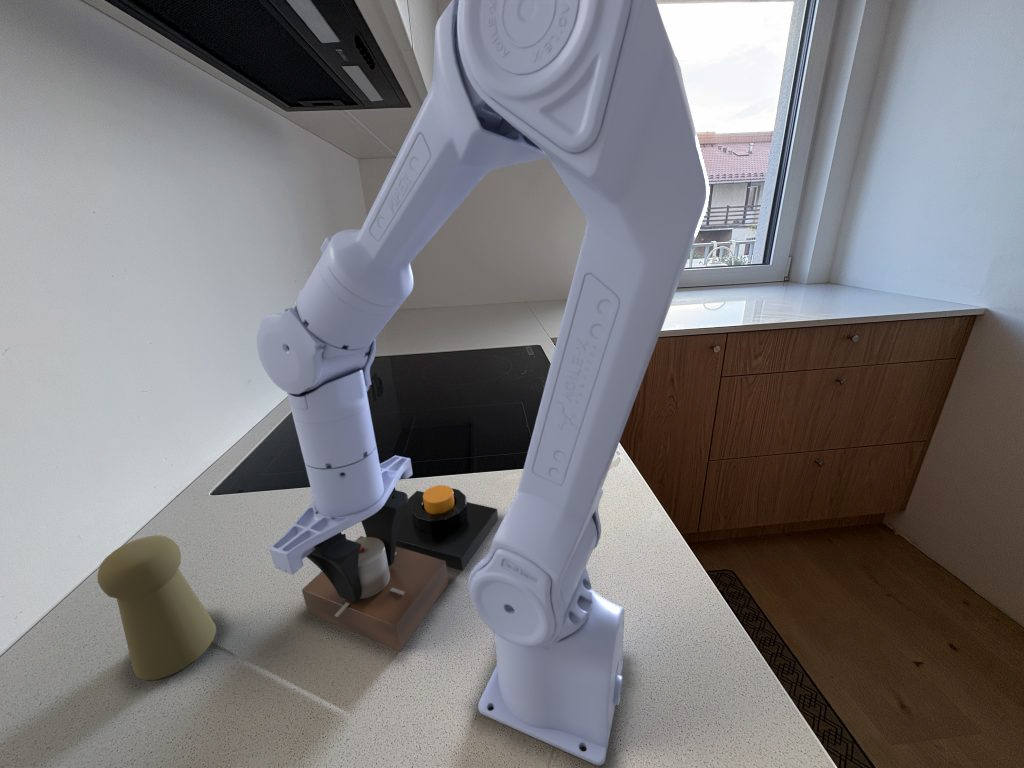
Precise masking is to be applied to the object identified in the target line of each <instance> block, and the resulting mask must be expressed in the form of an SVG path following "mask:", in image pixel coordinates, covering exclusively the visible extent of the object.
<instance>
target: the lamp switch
mask: <svg viewBox="0 0 1024 768" xmlns="http://www.w3.org/2000/svg"><path fill="white" fill-rule="evenodd" d="M451 488H452V490H453V494H454V503H455V504H454V507H453V508H452V509H451V510H449V511H447V512H445V513H440V514H430V513H427V512H426V511H425V508H424V501H423V494H424V492H425V491H420V490H416V491H415V492H414V493H412V495H411V496H410V497H408V502H409V503H408V505H407V507H406V509H405V511H404V514H403V516H402V519H401V522H400V526H399V530H398V535H397V541H396V546H397V547H400V548H403V549H407V550H410V551H413V552H417V553H420V554H423V555H427V556H430V557H434V558H437V559H440V560H444V561H446V567H448V568H451V569H454V570H458V571H461V572H463V571H464V569H465V568H466V567H467V566H468V564H469V562H470V561H471V560H472V558H473V557H474V556H475V554H476V553H477V551H478V549H480V547H481V545H483V543H484V541H485V539H486V538H487V537H488V535H489V534H490V533H491V531H492V529H493V528H494V527H495V525H496V524H497V523H498V521H499V514H498V508H495V507H491V506H486V505H482V504H477V503H474V502H469V501H467V496H466V494H464V493H463V492H462V491H461V490H460V489H457V488H453V487H451Z"/></svg>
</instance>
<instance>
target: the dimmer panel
mask: <svg viewBox="0 0 1024 768" xmlns="http://www.w3.org/2000/svg"><path fill="white" fill-rule="evenodd" d="M361 538H366V536H362V535H361V536H359V537H358V538H357V539H356V540H358V539H361ZM388 567H389V572H390V580H389V582H388V584H387V586H386V587H385V588H384V589H383V590H382V591H381V592H379V593H378V594H376V595H374V596H372V597H369V598H364V599H359V600H358V601H357V602H355V603H354V602H352V601H349V600H347V599H344V598H342V597H339V595H338V593H337V591H336V589H335V588H334V586H333V585H332V583H331V582H330V580H329V579H328V578H327V576H326V575H325V574H324V573H323V572H322V571H321V572H320V573H318V575H316V576H315V577H314V578H312V579H311V581H309V583H307V584H306V585H305V586H304V587H302V589H301V591H302V592H301V593H302V596H303V600H304V603H305V607H306V611H307V614H309V615H311V616H314V617H316V618H318V619H321V620H323V621H326V622H327V623H330V624H332V625H335V626H337V627H341V628H343V629H344V630H348V631H349V632H352V633H354V634H357V635H360V636H362V637H364V638H367V639H369V640H372V641H374V642H376V643H379V644H381V645H384V646H385V647H388V648H390V649H392V650H395V651H398V652H402V650H403V648H404V647H405V646H406V645H407V643H408V642H409V640H410V639H411V637H412V636H413V634H414V633H415V632H416V631H417V629H418V627H419V626H420V625H421V623H422V622H423V621H424V619H425V618H426V617H427V615H428V613H429V612H430V611H431V609H432V608H433V607H434V605H435V604H436V603H437V601H438V599H439V598H440V597H441V595H442V594H443V592H444V591H445V590H446V588H447V587H448V585H449V578H448V577H449V575H448V570H447V566H446V561H444V560H440V559H437V558H434V557H430V556H427V555H423V554H420V553H417V552H413V551H410V550H407V549H403V548H400V547H397V546H396V549H395V557H394V562H393V564H392V565H391V566H388Z"/></svg>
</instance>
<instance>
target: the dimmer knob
mask: <svg viewBox="0 0 1024 768" xmlns="http://www.w3.org/2000/svg"><path fill="white" fill-rule="evenodd" d="M365 537H366V536H365ZM357 539H358V538H357ZM357 539H356V540H353V541H354V542H357V543H360V544H362V545H361V548H360V551H359V558H358V572H359V578H360V583H361V598H360V599H364V598H369V597H372V596H374V595H376V594H378V593H379V592H381V591H382V590H383V589H384V588H385V587H386V586H387V584H388V582H389V580H390V572H389V567H388V561H387V556H386V551H385V546H384V543H383V542H382V541H381V540H380V539H378V538H374V537H366V538H361V539H358V540H357Z"/></svg>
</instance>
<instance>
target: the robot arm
mask: <svg viewBox="0 0 1024 768" xmlns="http://www.w3.org/2000/svg"><path fill="white" fill-rule="evenodd" d="M433 43H434V45H433V63H432V79H431V83H430V87H429V90H428V92H427V94H426V96H425V98H424V101H423V103H422V105H421V107H420V109H419V111H418V112H417V114H416V117H415V119H414V121H413V123H412V125H411V127H410V129H409V131H408V133H407V135H406V137H405V139H404V141H403V143H402V145H401V147H400V149H399V151H398V153H397V155H396V157H395V159H394V161H393V163H392V165H391V167H390V170H389V172H388V174H387V175H386V178H385V179H384V181H383V183H382V186H381V188H380V189H379V192H378V194H377V196H376V198H375V200H374V202H373V204H372V206H371V208H370V210H369V212H368V213H367V216H366V218H365V220H364V222H363V224H362V226H361V228H360V229H357V228H356V229H355V228H353V229H350V228H349V229H344V230H340V231H338V232H337V233H334V235H333V236H327V237H325V239H324V240H323V242H322V244H321V246H320V249H319V250H320V252H321V256H320V258H319V260H318V262H317V264H315V267H314V269H313V270H312V272H311V274H310V275H309V278H308V279H307V281H306V283H305V284H304V286H303V288H301V289H300V291H299V293H298V294H297V296H296V300H295V303H294V304H293V306H292V307H289V308H288V307H287V308H285V309H284V310H283V312H277V313H271V314H268V315H266V316H264V317H263V318H262V319H261V320H260V324H259V329H258V331H257V335H256V347H257V353H258V357H259V360H260V363H261V365H262V367H263V369H264V371H265V373H266V375H267V376H268V377H269V378H270V380H271V381H272V382H273V383H274V384H275V385H276V386H277V387H278V388H279V389H280V390H282V391H284V392H286V394H287V395H286V396H287V399H288V402H289V406H290V411H291V414H292V418H293V422H294V426H295V430H296V435H297V438H298V442H299V446H300V452H301V454H302V459H303V462H304V466H305V470H306V474H307V478H308V482H309V483H308V484H309V486H310V490H311V491H310V497H311V500H312V502H311V503H310V504H309V506H308V507H307V508H306V509H305V510H304V512H303V513H302V514H301V515H300V516H299V517H298V518H297V520H296V521H295V522H294V523H293V524H292V526H291V527H290V528H289V529H288V530H287V531H286V532H285V533H284V535H282V537H280V538H279V539H278V540H277V541H276V542H274V543H273V544H271V545H270V546H269V547H268V550H269V552H270V556H271V559H272V563H273V566H274V568H275V569H276V570H280V571H281V572H284V573H288V574H289V575H295V574H296V573H297V572H298V571H299V570H301V569H302V568H303V567H304V561H303V560H304V559H305V558H307V559H308V560H309V561H310V562H312V563H313V564H314V565H315V567H317V568H318V569H319V570H320V571H321V572H323V573H324V574H325V575H326V576H327V578H328V579H329V580H330V582H331V583H332V585H333V586H334V588H335V589H336V591H337V593H338V595H339V597H342V598H344V599H347V600H349V601H352V602H354V603H355V602H357V601H358V600H359V599H360V598H361V583H360V578H359V572H358V558H359V551H360V548H361V545H362V544H360V543H357V542H354V541H355V540H351V539H348V538H347V535H346V534H345V533H342V532H344V531H346V530H347V529H349V528H352V527H353V526H355V525H357V524H359V523H361V525H362V527H363V530H364V533H365V537H374V538H378V539H380V540H381V541H382V542H383V543H384V546H385V551H386V556H387V561H388V566H391V565H392V564H393V562H394V557H395V549H396V541H397V535H398V530H399V526H400V522H401V519H402V516H403V514H404V511H405V509H406V507H407V505H408V503H409V502H408V499H409V495H408V493H406V492H404V491H400V490H397V489H396V486H397V484H398V482H400V480H408V479H409V478H410V477H412V476H413V467H412V461H411V460H412V459H411V458H410V457H405V456H400V455H396V454H395V455H394V456H392V457H390V458H388V459H387V460H385V461H383V462H381V463H380V459H379V453H378V447H377V442H376V436H375V431H374V425H373V420H372V419H373V418H372V414H371V409H370V404H369V397H368V391H369V390H370V386H371V385H372V380H371V367H372V364H373V363H374V360H375V357H376V352H377V351H376V350H377V345H376V344H377V343H376V338H377V336H379V334H380V332H381V331H382V330H384V327H386V325H387V324H388V322H390V320H391V319H392V318H393V316H394V315H395V314H396V312H397V311H398V310H399V309H400V307H401V306H402V305H403V303H404V302H405V301H406V300H407V299H408V297H409V296H410V295H411V293H412V292H413V289H414V283H415V282H414V274H413V271H412V266H411V262H412V261H414V259H415V258H416V257H417V256H418V254H420V252H421V251H422V250H423V248H425V246H426V245H427V244H428V243H429V242H430V240H432V239H433V237H434V236H435V235H436V234H437V233H438V231H439V230H440V229H441V228H442V226H443V225H444V224H445V223H446V222H447V220H448V219H449V218H451V216H452V215H453V213H454V212H455V211H456V210H457V209H458V208H459V206H460V205H461V204H462V203H463V202H464V201H465V199H466V198H467V197H468V196H469V194H471V192H472V191H473V190H474V189H475V188H476V187H477V186H478V184H479V183H480V182H481V181H482V179H484V177H485V176H486V175H487V174H488V173H489V172H491V171H493V170H496V169H501V168H504V167H505V168H507V167H510V166H515V165H519V164H520V165H521V164H525V163H530V162H535V161H539V160H543V159H547V158H548V160H549V161H550V163H551V165H552V167H553V168H554V170H555V171H556V172H557V174H558V176H559V177H560V179H561V181H562V182H563V184H564V186H565V187H566V188H567V190H568V192H569V193H570V195H571V196H572V198H573V199H574V201H575V203H576V204H577V206H578V207H579V209H580V211H581V212H582V214H583V215H584V219H585V222H586V223H585V224H586V226H585V231H584V234H583V239H582V242H581V246H580V250H579V254H578V258H577V261H576V265H575V269H574V273H573V276H572V281H571V283H570V289H569V292H568V295H567V300H566V303H565V308H564V312H563V315H562V319H561V323H560V327H559V329H558V335H557V339H556V342H555V346H554V350H553V354H552V358H551V361H550V365H549V369H548V372H547V377H546V380H545V384H544V388H543V393H542V397H541V399H540V404H539V407H538V411H537V416H536V419H535V422H534V423H535V424H534V428H533V430H532V435H531V439H530V443H529V446H528V450H527V454H526V458H525V462H524V465H523V469H522V473H521V477H520V481H519V485H518V488H517V491H516V493H515V496H514V498H513V499H512V501H511V503H510V505H509V507H508V508H507V511H506V513H505V515H504V517H503V518H502V520H501V523H500V525H499V527H498V529H497V531H496V532H495V534H494V537H493V538H492V542H491V546H490V550H489V551H488V552H487V554H486V555H485V557H483V558H482V559H481V560H480V561H478V563H477V564H475V565H474V567H473V568H472V569H471V572H470V574H469V576H468V581H467V590H468V595H469V598H470V600H471V603H472V606H473V607H474V610H475V612H476V613H477V615H478V616H479V619H480V620H481V621H482V622H483V623H484V625H485V626H486V627H487V628H488V629H489V630H491V632H492V633H494V642H495V645H494V646H495V654H496V665H495V667H494V669H493V671H492V673H491V675H490V678H489V680H488V682H487V684H486V685H485V686H486V687H485V688H484V691H483V693H482V695H481V697H480V699H479V700H478V704H477V707H478V708H477V709H478V712H479V714H481V715H483V716H485V717H487V718H489V719H492V720H494V721H496V722H498V723H500V724H502V725H505V726H507V727H509V728H511V729H514V730H517V731H519V732H521V733H523V734H526V735H527V736H530V737H532V738H534V739H536V740H539V741H541V742H543V743H545V744H548V745H550V746H553V747H554V748H557V749H559V750H560V751H563V752H565V753H568V754H571V755H573V756H575V757H576V758H579V759H582V760H583V761H586V762H588V763H590V764H592V765H595V766H602V765H604V763H605V762H606V758H607V752H608V747H609V742H610V736H611V735H610V734H611V730H612V724H613V721H614V715H615V710H616V706H619V705H620V702H621V697H622V690H623V680H624V678H623V676H622V672H623V667H624V660H623V651H624V631H625V608H624V607H623V606H621V605H619V604H616V603H614V602H612V601H610V600H608V599H606V598H605V597H603V596H601V595H600V594H599V593H598V592H596V590H594V589H593V588H592V584H591V583H592V582H591V579H590V576H589V572H588V569H587V564H588V562H589V560H590V558H591V556H592V553H593V551H594V550H595V549H596V547H598V544H599V543H600V540H601V536H602V524H601V520H600V518H601V517H600V515H599V507H600V506H599V505H600V502H601V500H602V497H603V494H604V489H603V486H604V484H605V481H606V478H607V476H608V473H609V470H610V469H611V465H612V463H613V460H614V458H615V455H616V452H617V449H618V446H619V445H620V444H619V443H620V441H621V438H622V436H623V433H624V431H625V429H626V425H627V422H628V420H629V417H630V414H631V412H632V409H633V406H634V403H635V401H636V398H637V397H638V393H639V390H640V388H641V385H642V382H643V380H644V377H645V374H646V371H647V369H648V366H649V363H650V361H651V358H652V355H653V353H654V351H655V348H656V345H657V342H658V339H659V337H660V335H661V331H662V329H663V327H664V324H665V321H666V319H667V316H668V313H669V310H670V308H671V305H672V302H673V300H674V297H675V294H676V292H677V288H678V286H679V284H680V281H681V278H682V275H683V273H684V270H685V267H686V265H687V262H688V259H689V257H690V254H691V252H692V249H693V246H694V243H695V241H696V238H697V235H698V233H699V230H700V228H701V225H702V222H703V219H704V218H705V217H704V216H705V215H706V211H707V209H708V208H707V207H708V203H709V202H708V201H709V196H710V185H709V179H708V176H707V170H706V167H705V162H704V159H703V155H702V152H701V148H700V143H699V139H698V136H697V131H696V128H695V124H694V120H693V115H692V111H691V108H690V103H689V99H688V96H687V95H688V94H687V92H686V87H685V84H684V78H683V74H682V69H681V65H680V62H679V60H678V57H677V56H676V53H675V51H674V49H673V46H672V43H671V40H670V38H669V35H668V33H667V29H666V27H665V24H664V21H663V18H662V15H661V11H660V9H659V6H658V3H657V1H656V0H451V1H450V2H449V4H448V5H447V7H446V8H445V9H444V11H443V12H442V14H441V15H440V16H439V18H438V20H437V22H436V24H435V29H434V42H433ZM489 708H493V709H492V710H489ZM583 747H584V748H585V749H586V750H585V751H582V750H581V748H583Z"/></svg>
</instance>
